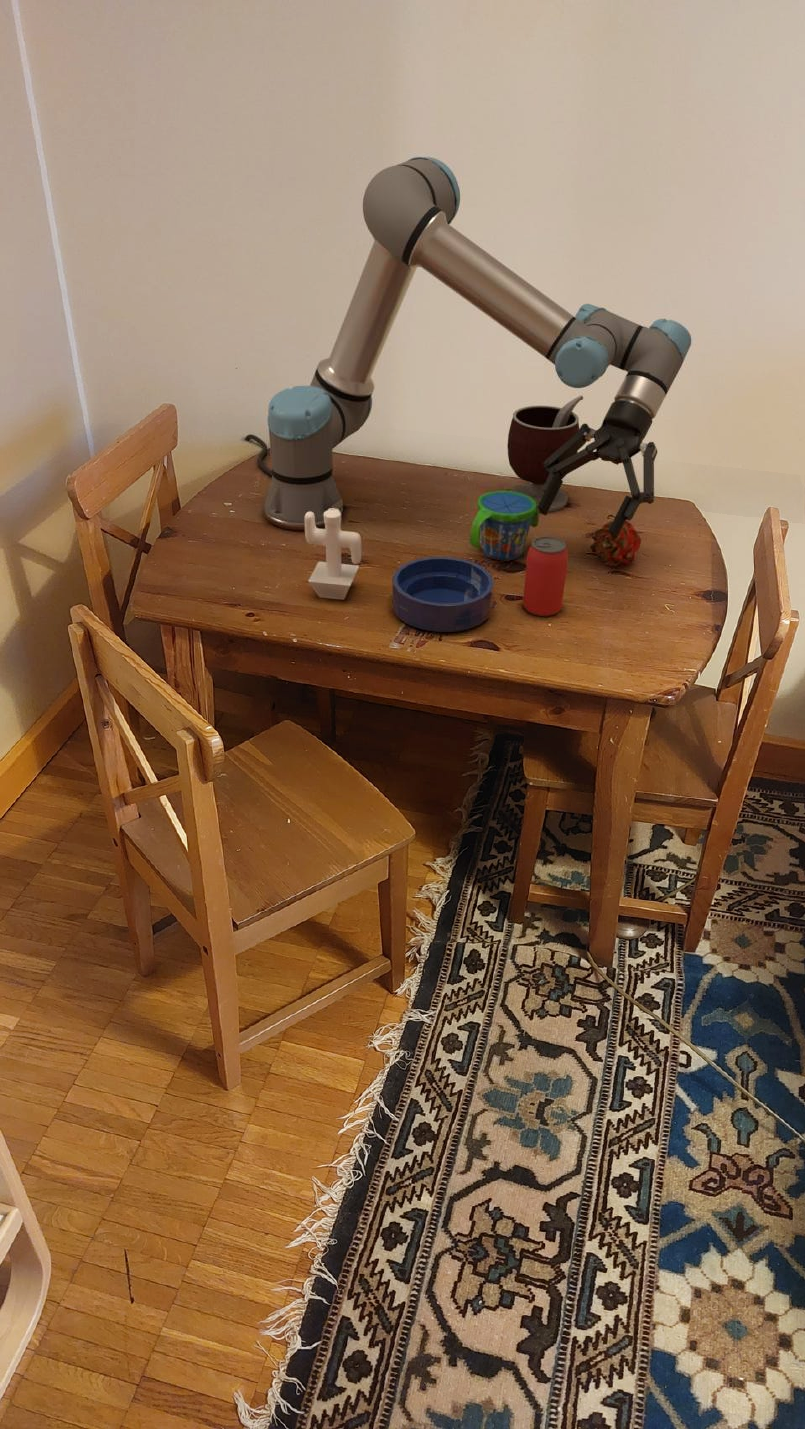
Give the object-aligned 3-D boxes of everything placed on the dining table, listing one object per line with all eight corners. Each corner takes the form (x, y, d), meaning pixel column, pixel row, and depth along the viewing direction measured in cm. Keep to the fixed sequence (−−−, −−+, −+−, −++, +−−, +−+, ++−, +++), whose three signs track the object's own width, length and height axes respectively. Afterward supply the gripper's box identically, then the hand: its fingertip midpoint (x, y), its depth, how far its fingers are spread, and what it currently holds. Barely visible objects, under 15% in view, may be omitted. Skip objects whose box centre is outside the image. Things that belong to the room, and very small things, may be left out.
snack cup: (517, 532, 193) (522, 482, 187) (553, 554, 186) (559, 503, 180) (451, 552, 186) (454, 500, 180) (486, 575, 179) (490, 523, 173)
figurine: (356, 605, 170) (356, 524, 161) (302, 599, 171) (298, 518, 162) (365, 585, 176) (365, 505, 167) (313, 579, 177) (310, 500, 168)
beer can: (519, 598, 173) (525, 535, 166) (556, 597, 173) (564, 534, 166) (526, 618, 168) (532, 553, 160) (565, 617, 168) (573, 552, 161)
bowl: (390, 585, 176) (390, 557, 172) (484, 584, 177) (487, 556, 173) (394, 635, 162) (395, 606, 159) (497, 634, 163) (499, 605, 160)
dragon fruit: (603, 584, 181) (609, 563, 191) (647, 563, 177) (651, 543, 187) (580, 543, 178) (588, 524, 189) (624, 521, 175) (630, 503, 185)
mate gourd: (529, 519, 198) (539, 419, 186) (489, 493, 208) (497, 396, 196) (591, 503, 205) (605, 406, 193) (550, 479, 214) (560, 385, 202)
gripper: (706, 440, 166) (648, 554, 165) (575, 405, 178) (520, 511, 177) (698, 417, 159) (638, 535, 158) (562, 382, 171) (506, 492, 171)
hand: (576, 523), depth 168 cm, fingers open, 13 cm apart
